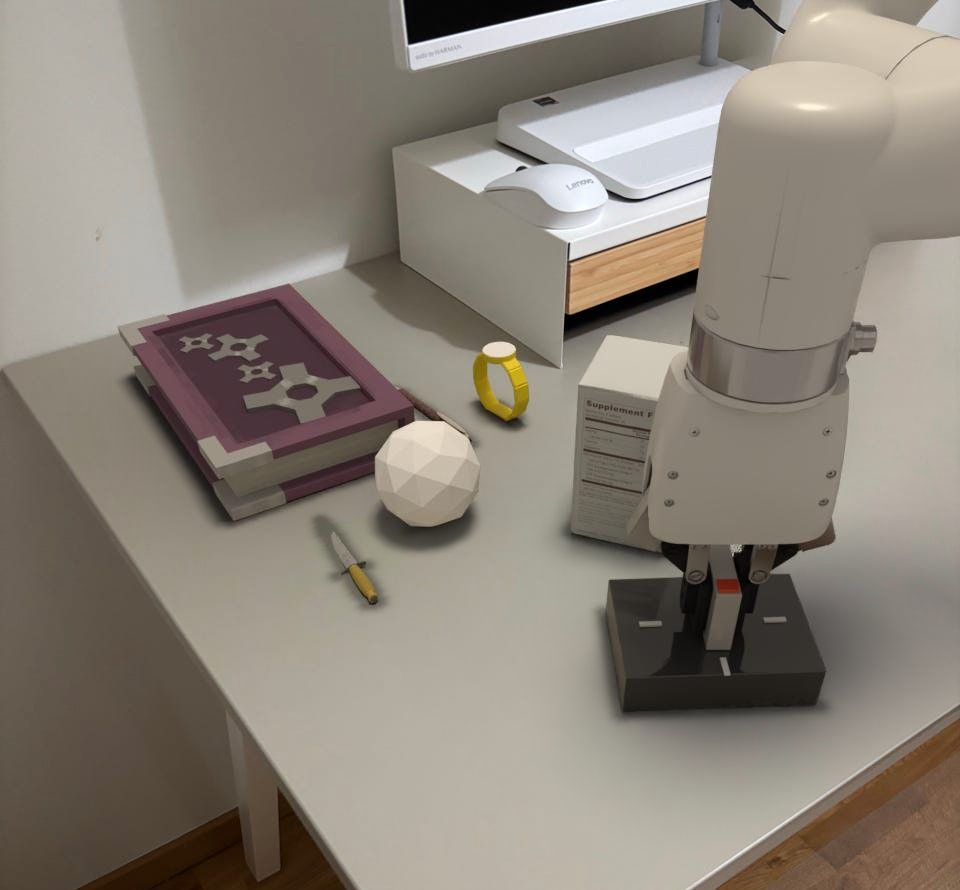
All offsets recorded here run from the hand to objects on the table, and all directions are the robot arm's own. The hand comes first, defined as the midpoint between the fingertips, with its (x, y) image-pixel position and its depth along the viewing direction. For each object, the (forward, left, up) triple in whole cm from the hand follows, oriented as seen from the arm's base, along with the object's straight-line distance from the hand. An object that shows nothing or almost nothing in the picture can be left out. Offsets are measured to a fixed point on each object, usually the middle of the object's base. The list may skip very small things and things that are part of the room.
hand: (713, 616), depth 63 cm
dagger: (+24, -11, -4) cm, 27 cm away
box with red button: (0, 0, 0) cm, 0 cm away
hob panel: (0, 0, -4) cm, 4 cm away
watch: (+12, -30, -4) cm, 33 cm away
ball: (+18, -16, -4) cm, 24 cm away
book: (+32, -31, -4) cm, 45 cm away
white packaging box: (+3, -15, -4) cm, 16 cm away
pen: (+18, -30, -4) cm, 35 cm away
